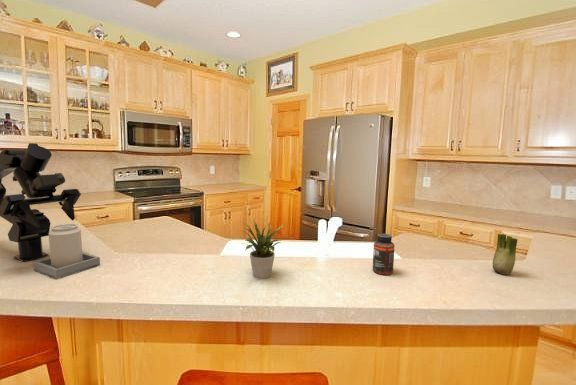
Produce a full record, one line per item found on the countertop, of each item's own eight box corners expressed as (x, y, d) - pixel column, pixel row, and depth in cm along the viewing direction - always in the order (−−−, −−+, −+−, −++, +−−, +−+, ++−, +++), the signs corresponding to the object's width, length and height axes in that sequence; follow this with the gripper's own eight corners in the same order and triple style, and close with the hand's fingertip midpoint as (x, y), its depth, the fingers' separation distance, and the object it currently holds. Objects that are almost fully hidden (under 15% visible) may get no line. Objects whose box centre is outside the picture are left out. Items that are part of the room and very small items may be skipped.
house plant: (222, 279, 83) (222, 221, 81) (246, 262, 96) (246, 212, 94) (270, 289, 78) (271, 227, 76) (288, 269, 91) (290, 216, 89)
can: (65, 272, 84) (61, 229, 82) (44, 268, 86) (41, 227, 84) (89, 262, 91) (86, 223, 90) (69, 259, 93) (67, 221, 92)
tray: (34, 270, 86) (33, 262, 86) (78, 258, 96) (77, 250, 96) (56, 279, 81) (55, 270, 81) (100, 265, 91) (99, 257, 91)
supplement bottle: (394, 270, 93) (396, 234, 91) (391, 277, 87) (394, 239, 86) (373, 266, 95) (376, 231, 94) (370, 273, 90) (372, 236, 88)
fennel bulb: (515, 277, 89) (520, 238, 88) (497, 275, 90) (501, 236, 89) (505, 270, 95) (510, 232, 93) (488, 268, 96) (492, 231, 94)
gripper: (0, 165, 80) (28, 210, 77) (75, 163, 97) (100, 200, 94) (-11, 192, 84) (14, 236, 81) (62, 186, 101) (85, 222, 98)
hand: (57, 222), depth 88 cm, fingers open, 9 cm apart
